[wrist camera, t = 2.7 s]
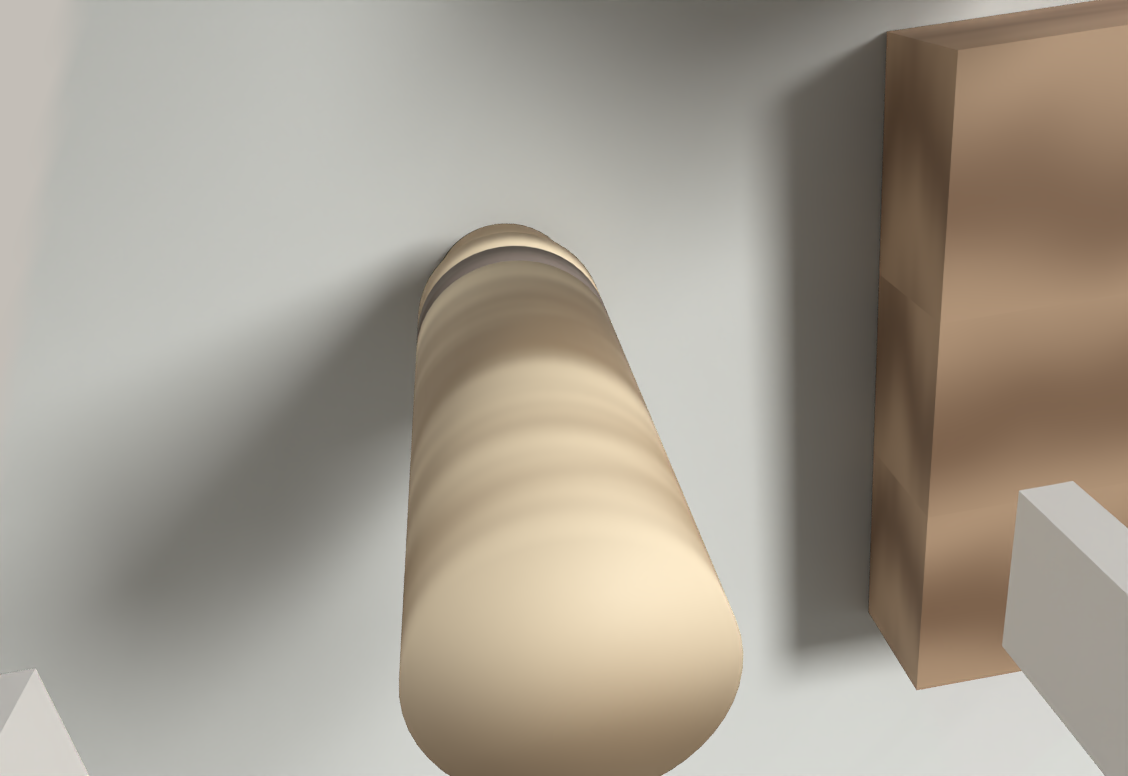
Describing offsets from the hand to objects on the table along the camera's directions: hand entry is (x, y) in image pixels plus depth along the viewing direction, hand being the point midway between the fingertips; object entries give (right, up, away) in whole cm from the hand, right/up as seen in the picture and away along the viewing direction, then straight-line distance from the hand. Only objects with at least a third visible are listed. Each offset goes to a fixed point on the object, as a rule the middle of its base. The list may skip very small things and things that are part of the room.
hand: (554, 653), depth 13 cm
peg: (-1, +6, +12) cm, 13 cm away
